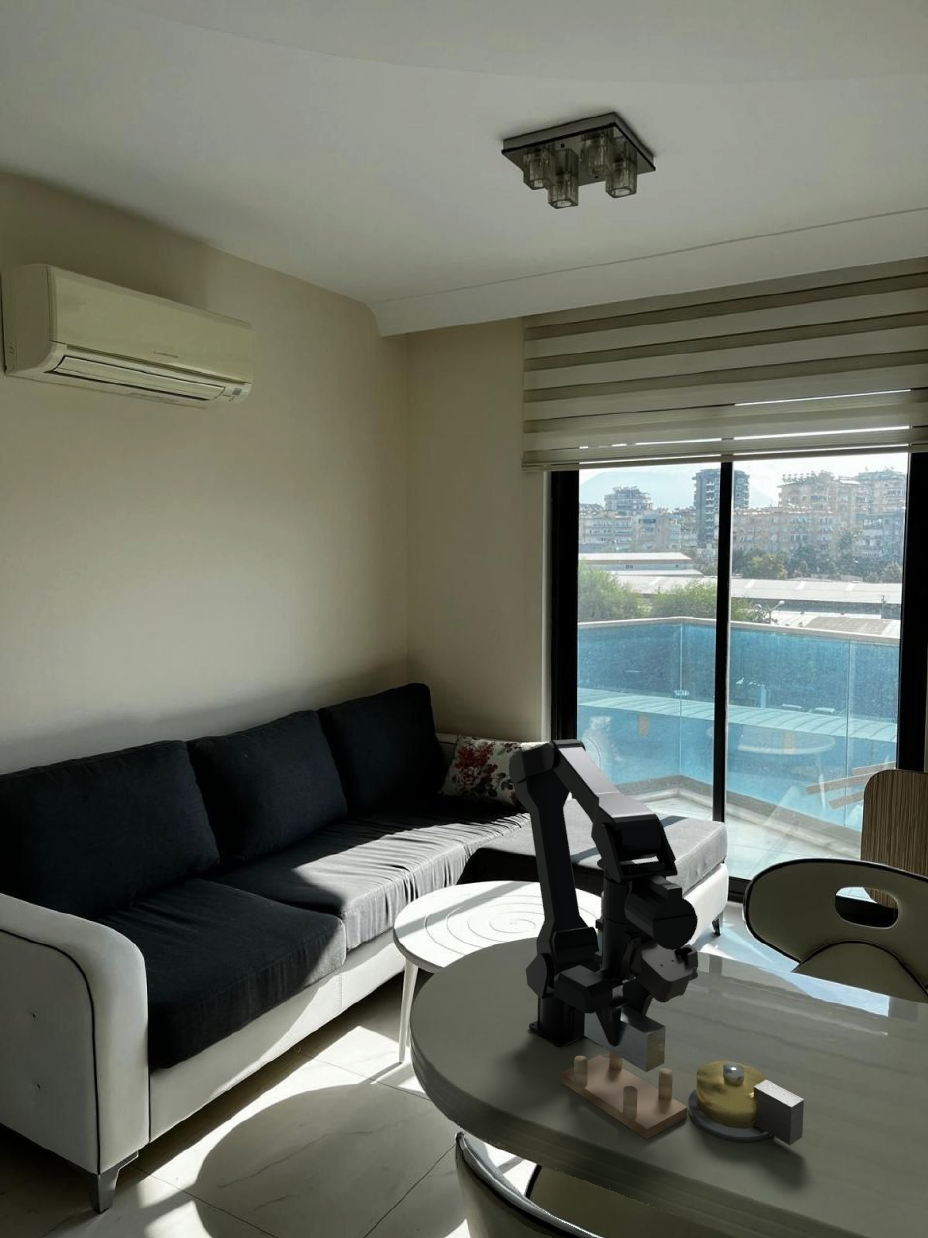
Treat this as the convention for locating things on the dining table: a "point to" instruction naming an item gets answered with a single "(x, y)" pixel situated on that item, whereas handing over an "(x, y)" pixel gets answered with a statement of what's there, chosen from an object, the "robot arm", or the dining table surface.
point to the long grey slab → (632, 1038)
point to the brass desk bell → (723, 1131)
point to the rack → (626, 1094)
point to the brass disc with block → (749, 1102)
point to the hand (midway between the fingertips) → (623, 1040)
